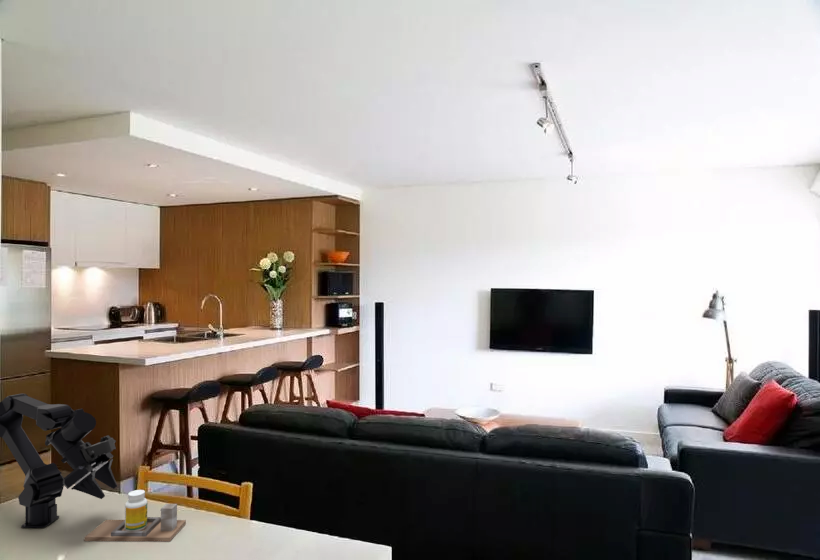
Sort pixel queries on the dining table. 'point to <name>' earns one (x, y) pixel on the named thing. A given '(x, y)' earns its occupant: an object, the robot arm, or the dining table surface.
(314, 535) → the dining table surface
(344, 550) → the dining table surface
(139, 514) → the supplement bottle
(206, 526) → the dining table surface
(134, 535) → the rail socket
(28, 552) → the dining table surface
